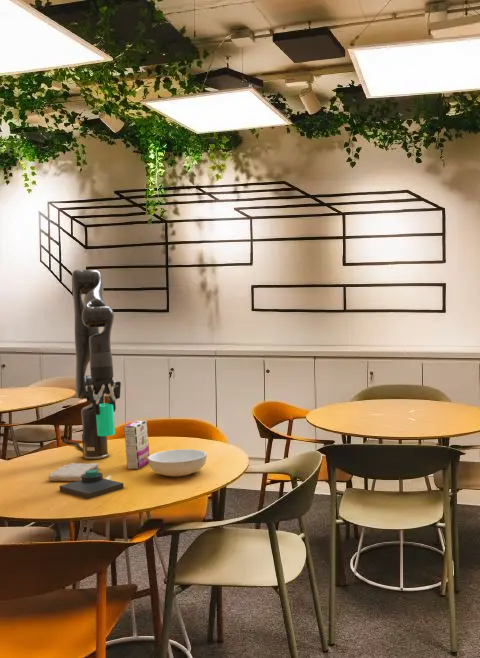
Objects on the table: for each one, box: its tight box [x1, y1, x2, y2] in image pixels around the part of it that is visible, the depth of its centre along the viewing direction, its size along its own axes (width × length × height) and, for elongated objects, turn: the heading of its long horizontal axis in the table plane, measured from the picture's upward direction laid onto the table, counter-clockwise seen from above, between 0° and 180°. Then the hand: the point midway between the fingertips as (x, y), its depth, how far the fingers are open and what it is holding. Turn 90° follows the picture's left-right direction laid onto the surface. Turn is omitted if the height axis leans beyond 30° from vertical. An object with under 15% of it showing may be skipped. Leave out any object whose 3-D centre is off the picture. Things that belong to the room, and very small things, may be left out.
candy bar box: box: [123, 420, 150, 470], centre depth 256 cm, size 11×5×16 cm, turn 168°
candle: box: [96, 402, 116, 437], centre depth 234 cm, size 6×6×12 cm
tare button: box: [86, 469, 99, 477], centre depth 232 cm, size 4×4×2 cm
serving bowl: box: [148, 448, 207, 478], centre depth 243 cm, size 21×21×7 cm
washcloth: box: [47, 462, 100, 482], centre depth 245 cm, size 12×18×3 cm, turn 172°
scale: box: [58, 472, 125, 500], centre depth 226 cm, size 16×14×4 cm
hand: (104, 413), depth 234 cm, fingers closed on candle, 6 cm apart
